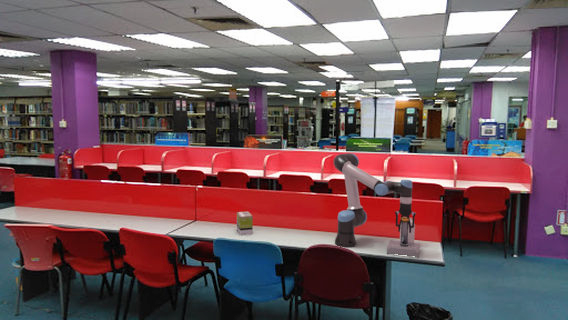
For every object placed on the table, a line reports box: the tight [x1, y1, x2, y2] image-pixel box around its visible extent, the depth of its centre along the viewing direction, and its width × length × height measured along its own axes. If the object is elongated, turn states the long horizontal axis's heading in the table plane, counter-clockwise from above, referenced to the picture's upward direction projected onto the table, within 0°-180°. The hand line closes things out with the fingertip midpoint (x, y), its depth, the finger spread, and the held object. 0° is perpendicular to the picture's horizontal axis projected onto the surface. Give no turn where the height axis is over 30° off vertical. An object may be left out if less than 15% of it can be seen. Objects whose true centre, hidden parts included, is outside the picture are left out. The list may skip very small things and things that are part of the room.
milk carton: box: [399, 217, 416, 243], centre depth 279 cm, size 7×7×19 cm
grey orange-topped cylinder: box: [400, 217, 411, 244], centre depth 261 cm, size 6×6×18 cm
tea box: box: [236, 211, 254, 236], centre depth 304 cm, size 15×10×15 cm
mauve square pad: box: [386, 239, 421, 258], centre depth 262 cm, size 20×20×6 cm
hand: (404, 237), depth 261 cm, fingers closed on grey orange-topped cylinder, 4 cm apart
